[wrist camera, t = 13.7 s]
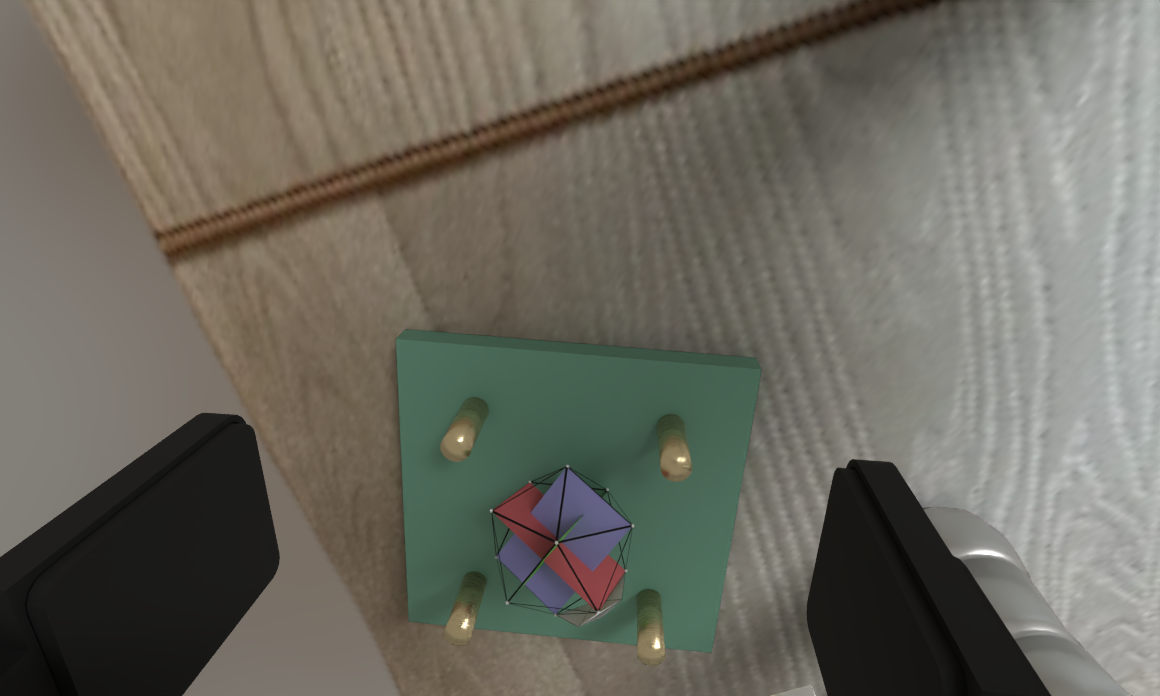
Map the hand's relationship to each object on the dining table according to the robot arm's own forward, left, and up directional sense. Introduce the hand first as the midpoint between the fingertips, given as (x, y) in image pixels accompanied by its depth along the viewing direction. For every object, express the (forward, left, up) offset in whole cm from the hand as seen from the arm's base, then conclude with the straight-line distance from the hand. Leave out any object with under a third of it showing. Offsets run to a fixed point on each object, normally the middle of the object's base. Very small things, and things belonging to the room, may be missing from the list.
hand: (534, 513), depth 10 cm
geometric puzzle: (+1, +14, -21) cm, 25 cm away
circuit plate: (+1, +14, -22) cm, 26 cm away
